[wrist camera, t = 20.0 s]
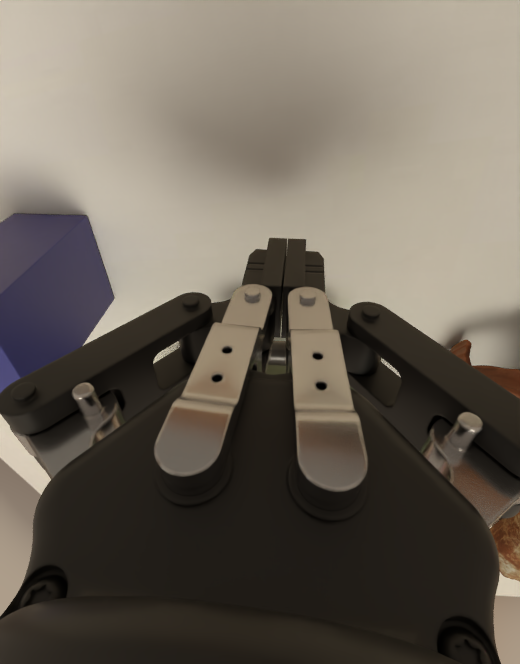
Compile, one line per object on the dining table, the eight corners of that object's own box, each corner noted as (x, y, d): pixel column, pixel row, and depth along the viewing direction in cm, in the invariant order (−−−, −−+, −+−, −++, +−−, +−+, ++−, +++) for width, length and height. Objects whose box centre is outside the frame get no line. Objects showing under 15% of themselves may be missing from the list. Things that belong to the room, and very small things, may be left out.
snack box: (13, 213, 22) (-128, 308, 15) (87, 215, 22) (-21, 314, 14) (51, 295, 26) (-46, 402, 19) (114, 298, 26) (40, 409, 18)
